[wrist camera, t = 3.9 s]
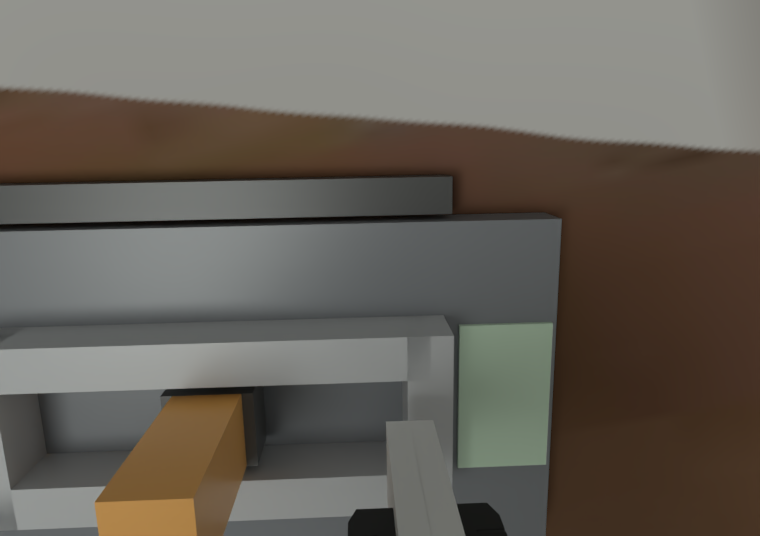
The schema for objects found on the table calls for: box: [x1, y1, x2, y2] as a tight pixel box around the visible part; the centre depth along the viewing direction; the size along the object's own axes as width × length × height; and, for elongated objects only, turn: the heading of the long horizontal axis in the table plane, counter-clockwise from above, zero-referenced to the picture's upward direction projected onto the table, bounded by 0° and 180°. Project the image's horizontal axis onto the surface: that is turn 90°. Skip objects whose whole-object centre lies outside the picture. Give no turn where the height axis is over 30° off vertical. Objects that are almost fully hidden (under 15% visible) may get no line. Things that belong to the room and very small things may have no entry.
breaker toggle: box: [94, 386, 266, 536], centre depth 18 cm, size 3×3×8 cm
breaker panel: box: [0, 175, 562, 536], centre depth 22 cm, size 26×20×4 cm
